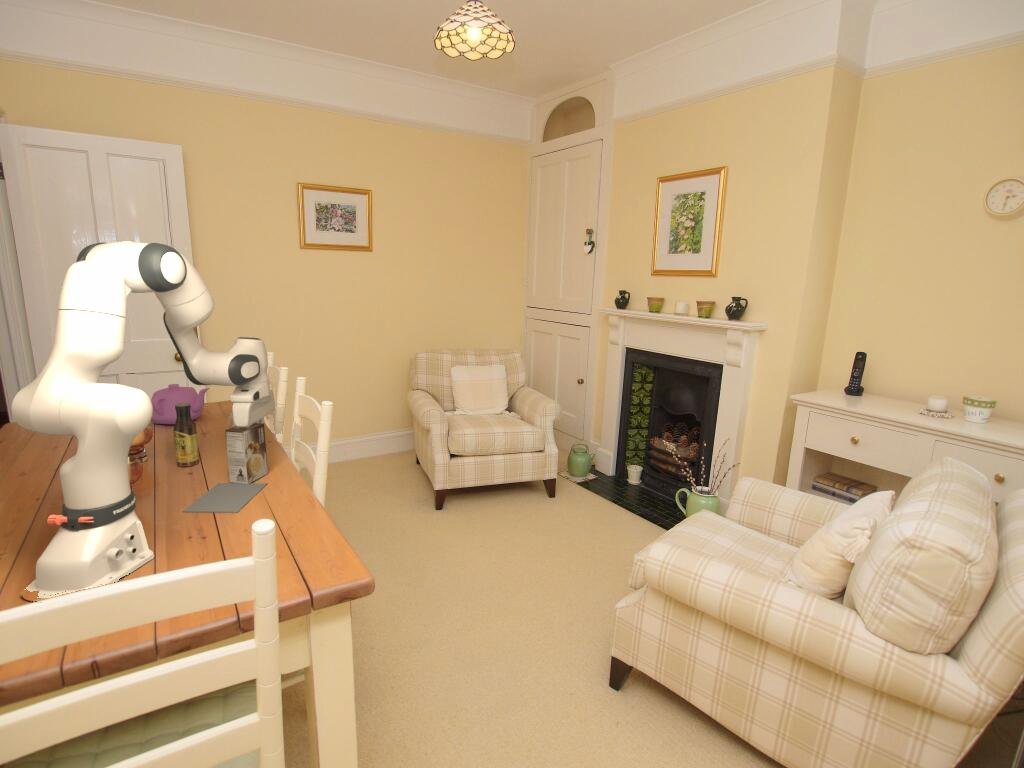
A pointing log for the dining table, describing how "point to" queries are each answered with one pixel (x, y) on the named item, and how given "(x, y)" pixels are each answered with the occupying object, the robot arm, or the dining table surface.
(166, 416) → the teapot
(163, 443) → the dining table surface
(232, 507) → the mat
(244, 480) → the coffee box
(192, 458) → the sauce bottle
